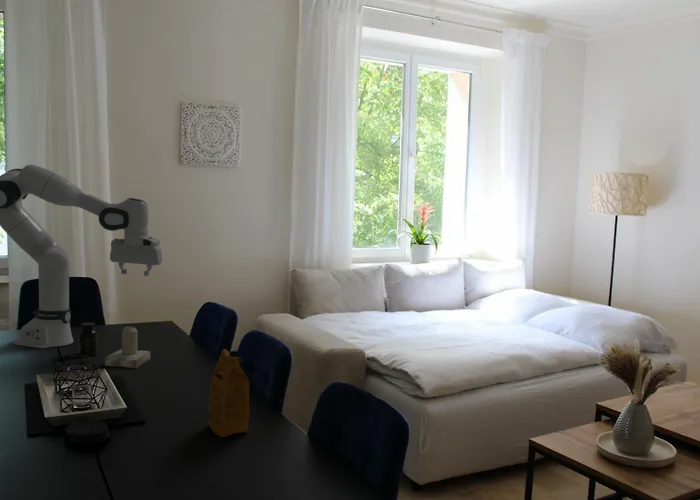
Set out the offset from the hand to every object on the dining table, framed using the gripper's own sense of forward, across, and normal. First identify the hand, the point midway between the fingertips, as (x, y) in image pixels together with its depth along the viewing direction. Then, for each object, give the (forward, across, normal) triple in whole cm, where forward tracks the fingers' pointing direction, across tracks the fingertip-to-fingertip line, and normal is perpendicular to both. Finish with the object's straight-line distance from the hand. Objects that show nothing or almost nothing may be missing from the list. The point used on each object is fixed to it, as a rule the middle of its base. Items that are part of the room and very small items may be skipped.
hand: (135, 274), depth 257 cm
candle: (+27, +6, -16) cm, 32 cm away
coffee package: (+30, +62, -70) cm, 98 cm away
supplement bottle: (+31, -13, -11) cm, 35 cm away
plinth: (+30, +6, -17) cm, 35 cm away
